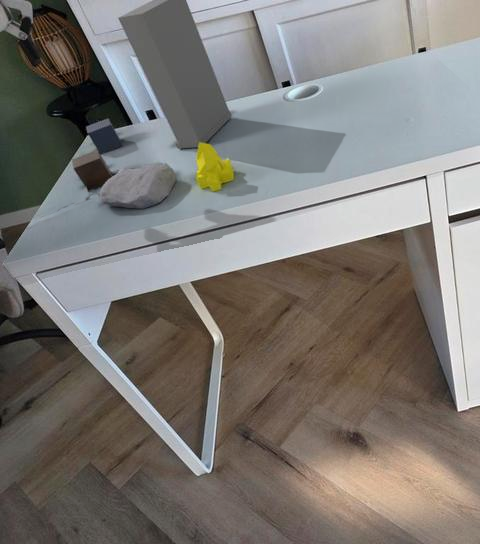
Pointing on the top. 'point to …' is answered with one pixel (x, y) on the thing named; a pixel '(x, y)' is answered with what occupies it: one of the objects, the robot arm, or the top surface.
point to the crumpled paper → (212, 168)
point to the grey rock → (138, 186)
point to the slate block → (104, 136)
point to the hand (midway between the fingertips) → (7, 73)
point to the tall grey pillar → (177, 69)
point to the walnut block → (92, 170)
